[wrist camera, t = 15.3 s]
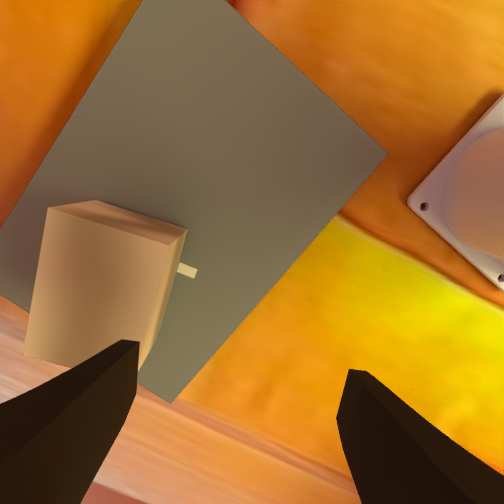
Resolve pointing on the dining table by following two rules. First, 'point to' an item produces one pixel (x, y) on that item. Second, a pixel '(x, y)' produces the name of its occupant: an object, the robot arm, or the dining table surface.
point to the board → (198, 170)
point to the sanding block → (100, 281)
